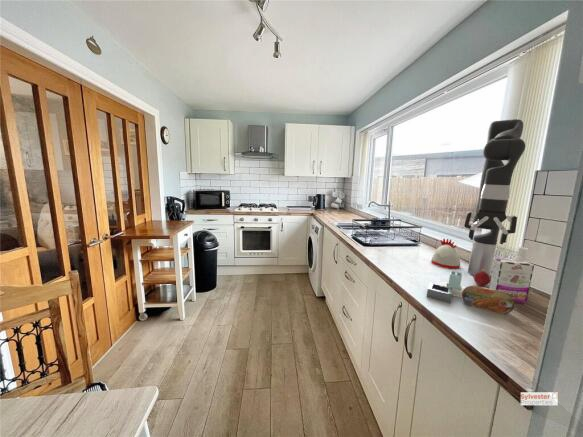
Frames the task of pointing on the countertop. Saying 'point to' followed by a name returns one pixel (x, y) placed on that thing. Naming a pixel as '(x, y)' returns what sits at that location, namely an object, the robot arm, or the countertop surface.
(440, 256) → the white dome
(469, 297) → the tin
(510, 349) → the countertop surface
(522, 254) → the bath foam
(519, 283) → the candy bar box
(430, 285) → the block
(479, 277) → the onion
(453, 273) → the plug
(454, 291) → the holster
